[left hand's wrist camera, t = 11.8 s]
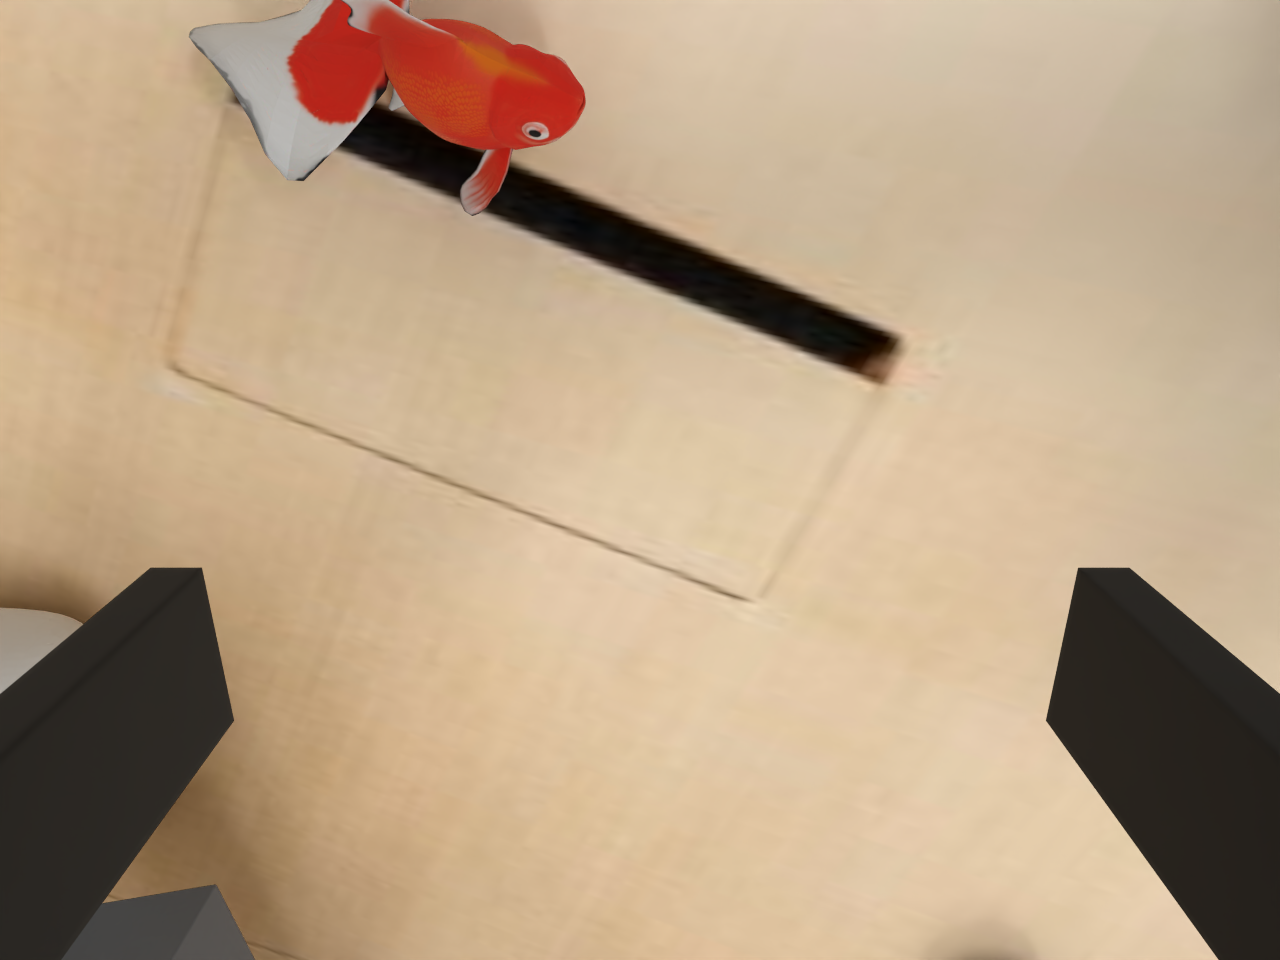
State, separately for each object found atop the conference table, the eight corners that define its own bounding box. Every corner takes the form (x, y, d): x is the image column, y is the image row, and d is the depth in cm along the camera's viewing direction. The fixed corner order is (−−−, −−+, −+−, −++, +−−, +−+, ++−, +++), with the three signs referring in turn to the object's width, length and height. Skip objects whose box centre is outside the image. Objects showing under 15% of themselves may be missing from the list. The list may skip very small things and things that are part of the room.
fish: (502, 333, 35) (387, 225, 25) (247, 165, 39) (63, 17, 29) (647, 125, 35) (588, -61, 26) (379, -21, 39) (240, -230, 30)
